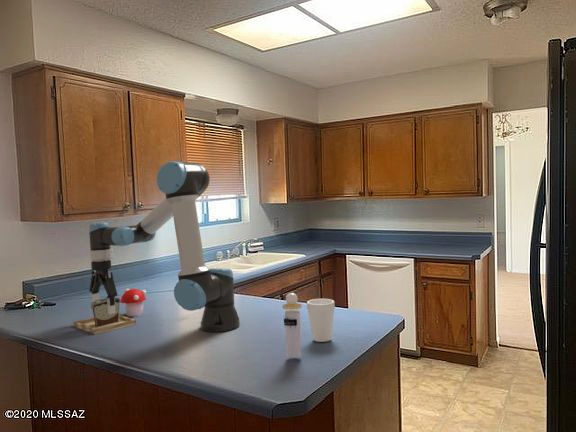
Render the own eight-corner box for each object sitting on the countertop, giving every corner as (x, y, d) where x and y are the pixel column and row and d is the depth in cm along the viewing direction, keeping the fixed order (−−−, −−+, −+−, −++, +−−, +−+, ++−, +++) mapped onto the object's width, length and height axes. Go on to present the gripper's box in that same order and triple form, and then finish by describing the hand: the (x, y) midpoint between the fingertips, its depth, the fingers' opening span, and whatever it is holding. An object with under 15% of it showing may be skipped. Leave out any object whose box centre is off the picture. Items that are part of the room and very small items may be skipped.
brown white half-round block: (114, 319, 192) (113, 296, 192) (122, 321, 188) (120, 297, 188) (86, 326, 182) (84, 301, 182) (93, 328, 178) (91, 303, 178)
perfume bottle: (288, 353, 142) (286, 290, 141) (306, 354, 140) (303, 291, 139) (282, 359, 136) (279, 294, 136) (299, 361, 134) (297, 295, 134)
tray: (135, 324, 185) (135, 319, 185) (95, 334, 172) (94, 329, 172) (113, 317, 198) (112, 313, 198) (73, 326, 186) (73, 321, 186)
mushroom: (151, 314, 201) (150, 287, 200) (128, 319, 193) (127, 292, 192) (139, 310, 208) (138, 285, 208) (116, 316, 200) (115, 289, 200)
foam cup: (315, 344, 149) (314, 306, 149) (304, 337, 158) (302, 300, 157) (340, 340, 153) (339, 302, 152) (327, 333, 161) (326, 297, 161)
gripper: (124, 260, 179) (127, 313, 179) (96, 257, 195) (99, 305, 196) (106, 263, 173) (109, 317, 174) (78, 259, 190) (82, 309, 191)
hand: (104, 311), depth 185 cm, fingers open, 13 cm apart
